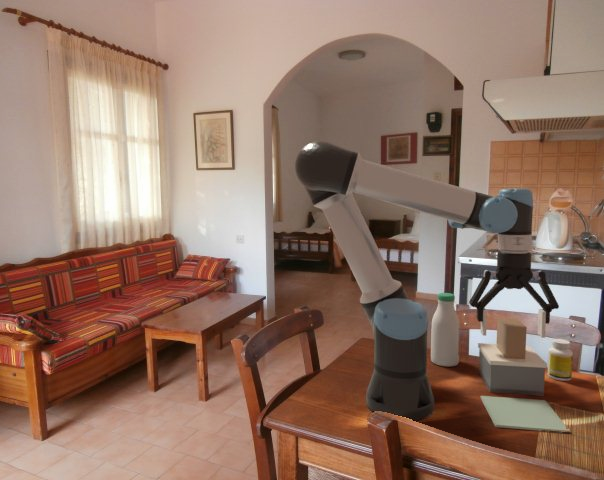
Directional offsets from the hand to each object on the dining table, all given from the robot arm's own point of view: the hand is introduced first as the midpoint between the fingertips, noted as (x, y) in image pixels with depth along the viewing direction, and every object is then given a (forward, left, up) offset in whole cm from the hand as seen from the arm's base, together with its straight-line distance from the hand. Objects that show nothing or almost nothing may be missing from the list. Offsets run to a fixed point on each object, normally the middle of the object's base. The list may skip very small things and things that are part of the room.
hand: (511, 335), depth 105 cm
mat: (-2, -16, -13) cm, 21 cm away
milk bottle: (-14, +12, -13) cm, 23 cm away
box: (0, 0, -13) cm, 13 cm away
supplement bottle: (+14, +6, -13) cm, 20 cm away
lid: (0, 0, -6) cm, 6 cm away
